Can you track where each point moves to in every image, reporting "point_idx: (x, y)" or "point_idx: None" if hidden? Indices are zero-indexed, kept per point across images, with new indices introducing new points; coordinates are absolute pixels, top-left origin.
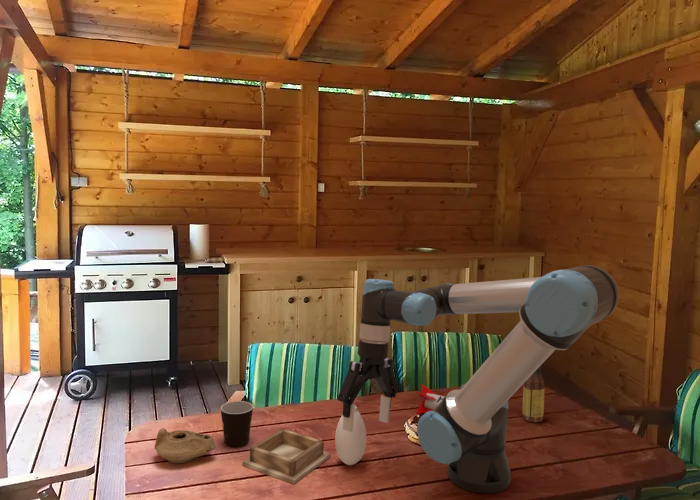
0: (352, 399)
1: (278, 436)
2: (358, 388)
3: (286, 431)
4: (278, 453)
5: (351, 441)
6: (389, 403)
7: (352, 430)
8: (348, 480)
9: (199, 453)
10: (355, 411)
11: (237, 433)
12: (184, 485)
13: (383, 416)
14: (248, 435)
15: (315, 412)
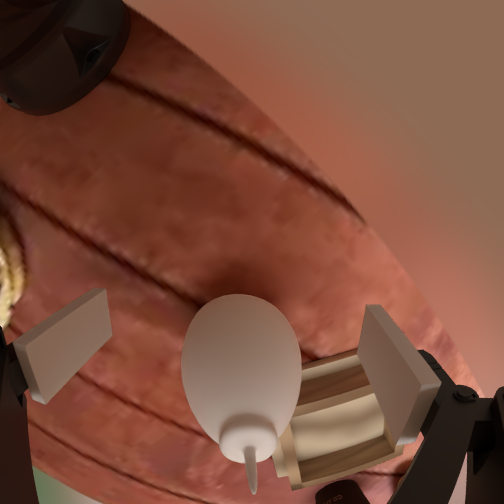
0: (461, 410)
1: (318, 474)
2: (441, 489)
3: (298, 479)
4: (337, 438)
5: (286, 326)
6: (41, 328)
7: (370, 306)
8: (310, 260)
9: None
10: (246, 415)
11: (362, 498)
12: None
13: (96, 322)
14: (333, 495)
15: (132, 493)
